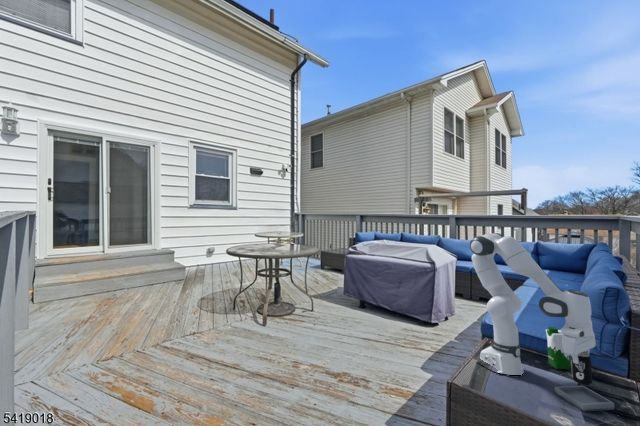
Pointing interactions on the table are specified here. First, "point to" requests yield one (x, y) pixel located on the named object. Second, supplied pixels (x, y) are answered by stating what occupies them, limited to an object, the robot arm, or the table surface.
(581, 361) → the beverage can
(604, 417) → the table surface
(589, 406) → the tray
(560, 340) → the milk carton
